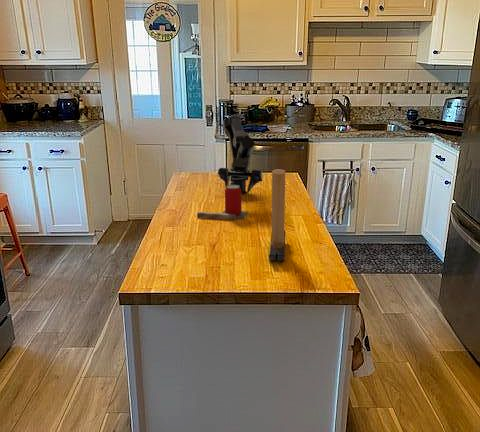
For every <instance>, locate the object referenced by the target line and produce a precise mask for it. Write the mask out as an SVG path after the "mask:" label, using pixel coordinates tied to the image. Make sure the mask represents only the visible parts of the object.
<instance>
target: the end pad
mask: <svg viewBox="0 0 480 432" xmlns="http://www.w3.org/2000/svg"><path fill="white" fill-rule="evenodd" d="M248 212H249V211H247V210H241V214H239V215H238V216H236V220H237V219H238V220H244V218H245V217H246V216H247V214H248ZM222 213H224V214H226V213H225V209H224V210H223V212H222Z"/></svg>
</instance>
